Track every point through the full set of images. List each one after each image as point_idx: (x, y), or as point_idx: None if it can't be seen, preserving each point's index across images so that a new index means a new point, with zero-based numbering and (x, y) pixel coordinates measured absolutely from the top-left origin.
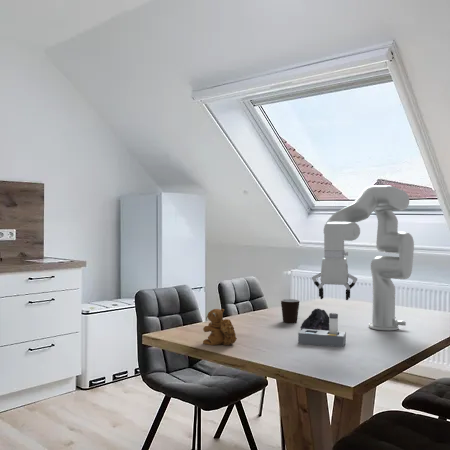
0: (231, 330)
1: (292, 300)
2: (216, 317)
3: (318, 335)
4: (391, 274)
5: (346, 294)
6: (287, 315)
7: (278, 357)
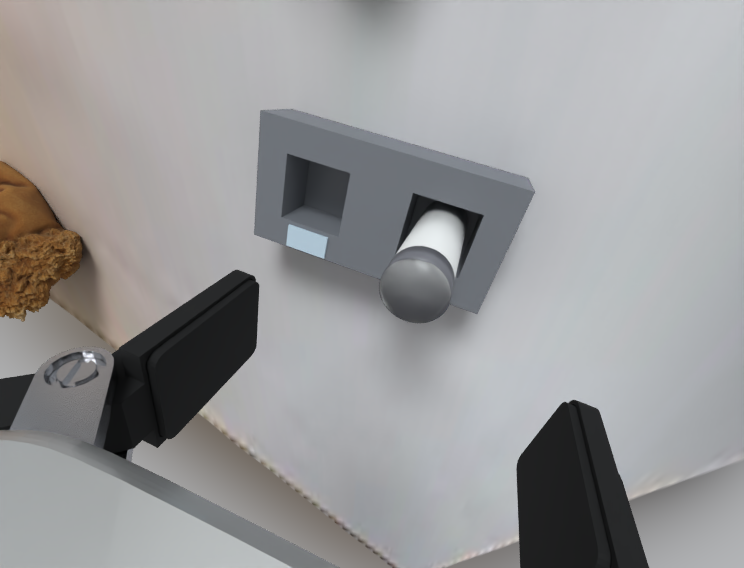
0: (38, 306)
1: None
2: None
3: (351, 267)
4: None
5: (529, 544)
6: None
7: (247, 391)
